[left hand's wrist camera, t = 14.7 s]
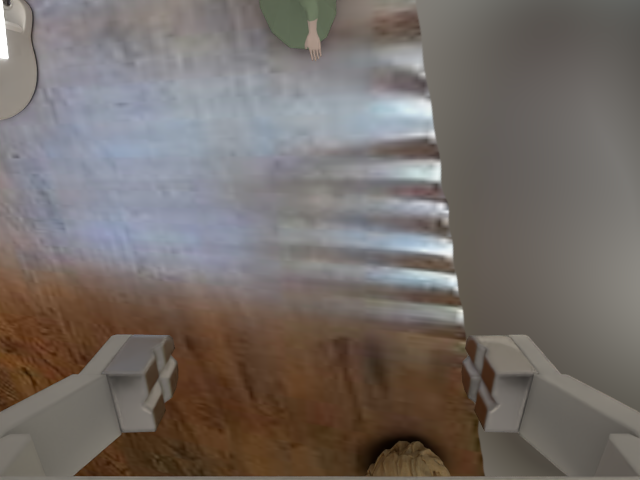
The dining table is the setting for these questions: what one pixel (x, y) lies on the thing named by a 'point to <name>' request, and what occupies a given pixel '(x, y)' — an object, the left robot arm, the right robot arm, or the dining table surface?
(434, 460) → the fossil
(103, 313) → the dining table surface
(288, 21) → the character figurine
